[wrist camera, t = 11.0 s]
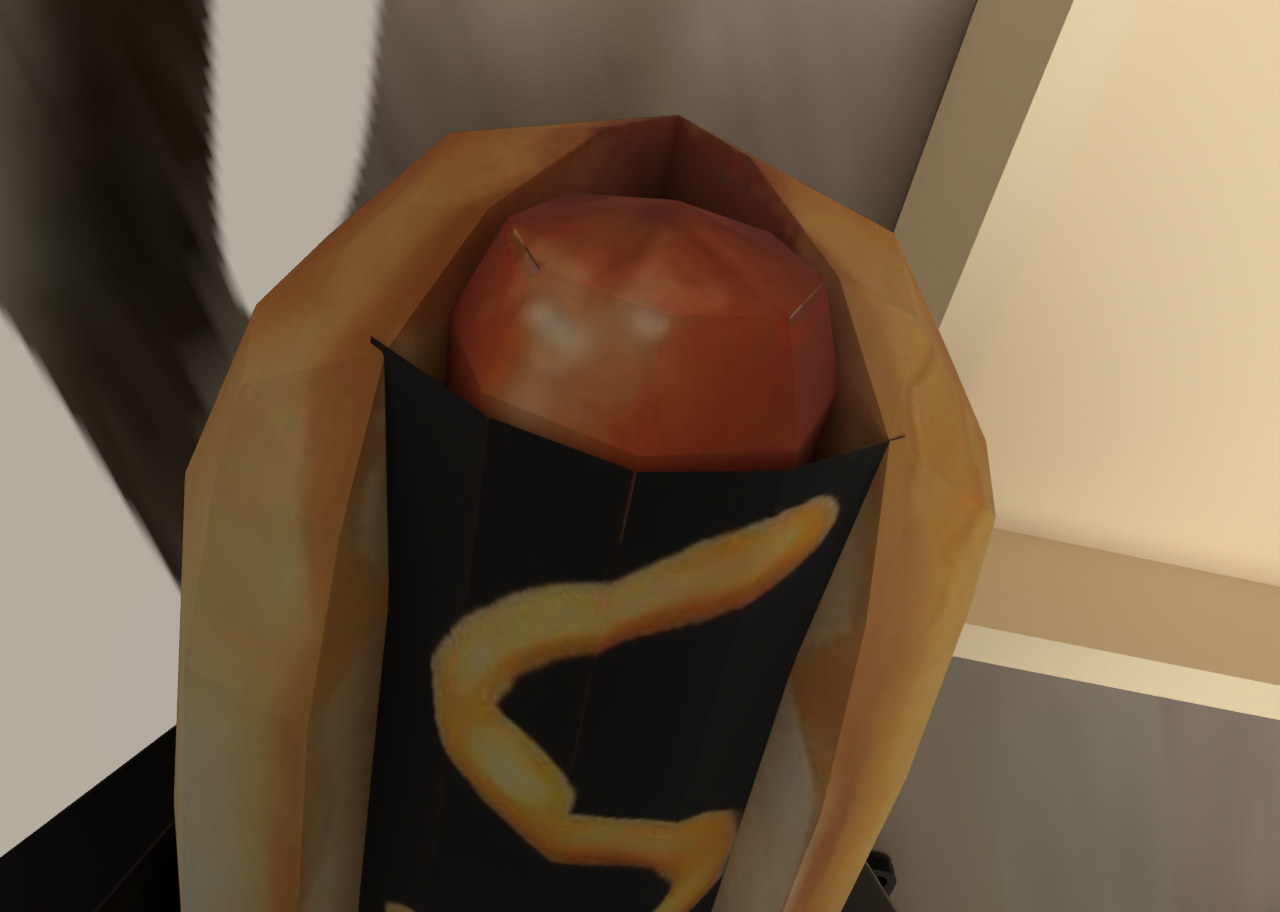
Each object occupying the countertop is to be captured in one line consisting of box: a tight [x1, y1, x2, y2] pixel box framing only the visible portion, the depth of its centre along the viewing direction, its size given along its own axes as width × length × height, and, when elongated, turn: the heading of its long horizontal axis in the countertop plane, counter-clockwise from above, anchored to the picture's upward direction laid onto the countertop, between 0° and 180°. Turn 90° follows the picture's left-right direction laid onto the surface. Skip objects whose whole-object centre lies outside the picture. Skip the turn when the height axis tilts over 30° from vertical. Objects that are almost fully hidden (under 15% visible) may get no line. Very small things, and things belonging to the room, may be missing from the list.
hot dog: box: [174, 115, 996, 912], centre depth 9 cm, size 5×13×5 cm, turn 169°
